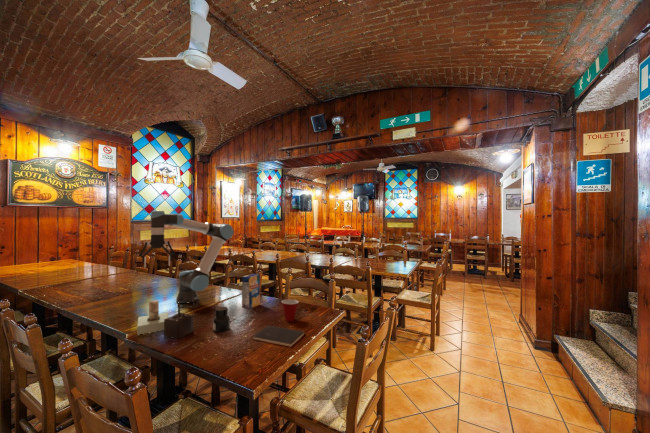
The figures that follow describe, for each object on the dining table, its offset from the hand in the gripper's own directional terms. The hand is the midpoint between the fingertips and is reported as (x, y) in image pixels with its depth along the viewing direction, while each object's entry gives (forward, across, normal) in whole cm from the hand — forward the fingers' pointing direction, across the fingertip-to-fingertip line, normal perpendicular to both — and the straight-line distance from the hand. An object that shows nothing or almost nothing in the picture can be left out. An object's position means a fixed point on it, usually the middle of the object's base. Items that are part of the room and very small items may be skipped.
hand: (157, 266), depth 180 cm
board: (+32, +2, +23) cm, 39 cm away
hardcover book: (+32, -56, +72) cm, 97 cm away
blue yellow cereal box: (+32, -58, +14) cm, 68 cm away
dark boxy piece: (+32, -12, +39) cm, 52 cm away
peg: (+32, +2, +23) cm, 39 cm away
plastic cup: (+32, -71, +53) cm, 94 cm away
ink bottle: (+32, -31, +46) cm, 64 cm away
